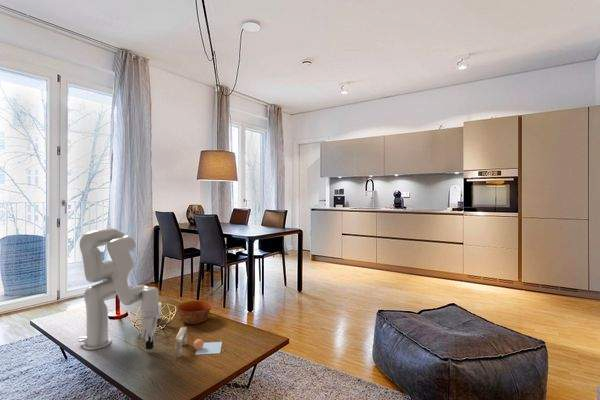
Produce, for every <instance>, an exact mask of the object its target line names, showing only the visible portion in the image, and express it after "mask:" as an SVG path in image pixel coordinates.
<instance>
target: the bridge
mask: <svg viewBox="0 0 600 400" xmlns="http://www.w3.org/2000/svg"><path fill="white" fill-rule="evenodd" d="M187 329H188V328H187V326H185V327H184V326H183V327H181V326H180V328H179V331H178V332H177V334H176V337H175V339H174V357H175V358H181V357H182V355H183V346H186V345H187V342H188V339H187V338H188V337H187V335H188V331H187Z"/></svg>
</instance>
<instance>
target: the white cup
mask: <svg viewBox="0 0 600 400" xmlns="http://www.w3.org/2000/svg"><path fill="white" fill-rule="evenodd" d="M161 313H162V302H160V301H158V315H157V316H156V318H157V319H158V318H160V319H161Z"/></svg>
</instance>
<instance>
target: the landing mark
mask: <svg viewBox="0 0 600 400" xmlns="http://www.w3.org/2000/svg"><path fill="white" fill-rule="evenodd" d="M203 343H204V344H203V347H202V348H201V349H199V350H197V349H196V351H195V353H194V354H195V356H199V355H213V354H214V355H215V354H221V351H222V345H223V341H215V342H214V341H211V342H203Z"/></svg>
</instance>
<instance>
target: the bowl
mask: <svg viewBox="0 0 600 400" xmlns="http://www.w3.org/2000/svg"><path fill="white" fill-rule="evenodd" d="M212 307H213V304H212V302H211V301H207V300H189V301H183V302H181V303H179V304H178V305H176V309H177V312H178V313H179V317H180V321H181V322H183V323H185V324H191V325H192V324H193V325H196V324H201V323H203V322H205V321H206V320H208V318H209V313H210V312H211V309H212Z"/></svg>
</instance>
